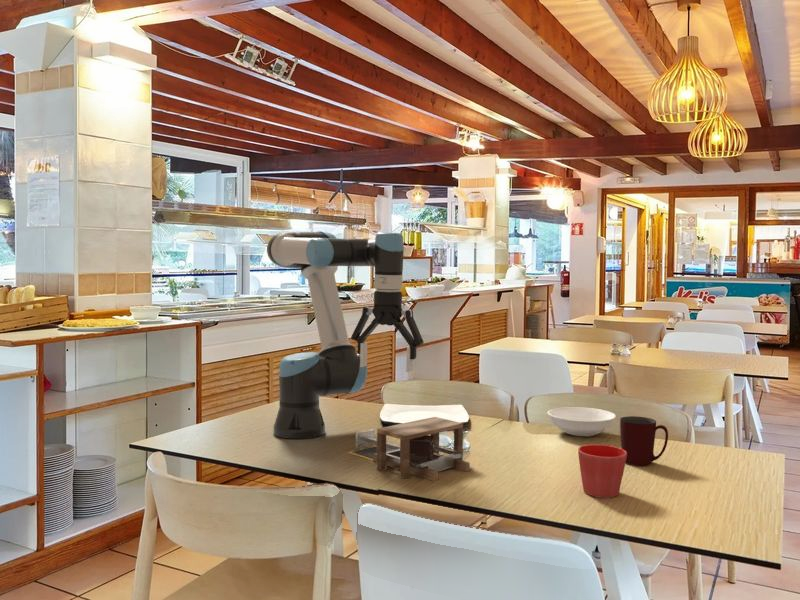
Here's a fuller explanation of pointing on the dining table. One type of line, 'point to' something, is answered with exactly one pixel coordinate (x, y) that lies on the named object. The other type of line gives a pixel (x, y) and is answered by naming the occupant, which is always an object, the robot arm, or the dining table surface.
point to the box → (422, 448)
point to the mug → (640, 439)
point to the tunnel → (413, 431)
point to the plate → (422, 413)
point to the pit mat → (367, 452)
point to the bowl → (581, 420)
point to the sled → (434, 464)
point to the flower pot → (601, 469)
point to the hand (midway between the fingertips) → (386, 368)
